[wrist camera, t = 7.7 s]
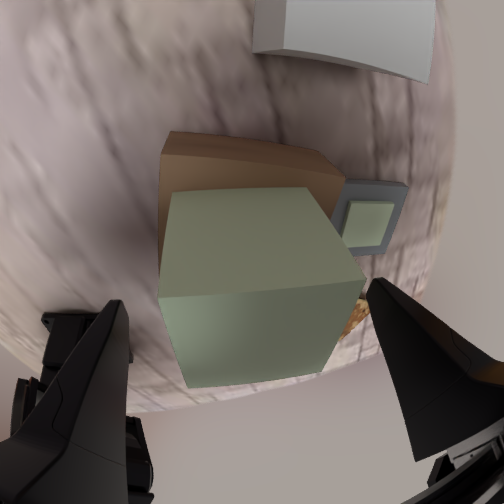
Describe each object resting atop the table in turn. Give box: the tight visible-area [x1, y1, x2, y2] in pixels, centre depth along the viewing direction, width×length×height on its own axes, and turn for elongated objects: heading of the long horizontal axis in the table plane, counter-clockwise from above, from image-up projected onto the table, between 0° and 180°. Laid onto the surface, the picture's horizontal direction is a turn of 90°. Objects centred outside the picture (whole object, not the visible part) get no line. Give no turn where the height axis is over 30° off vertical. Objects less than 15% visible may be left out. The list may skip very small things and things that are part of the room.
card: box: [330, 179, 409, 256], centre depth 15 cm, size 5×5×1 cm
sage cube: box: [157, 187, 367, 388], centre depth 10 cm, size 5×5×5 cm
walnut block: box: [158, 131, 346, 277], centre depth 13 cm, size 7×7×4 cm
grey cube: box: [252, 0, 435, 85], centre depth 6 cm, size 5×5×5 cm
